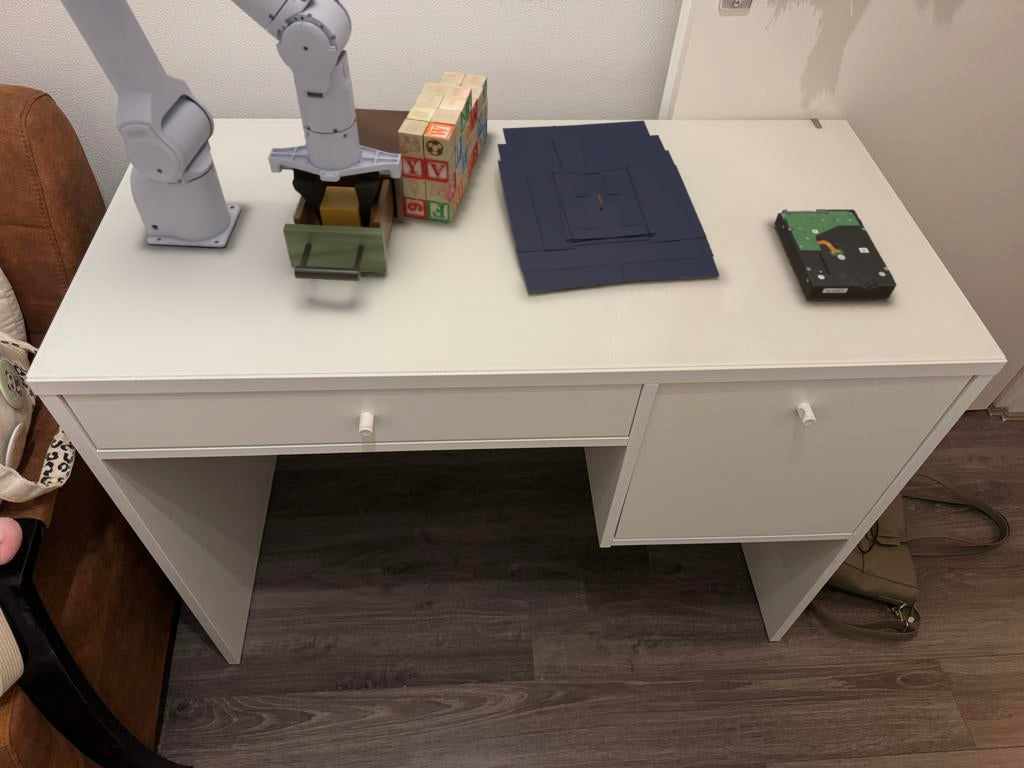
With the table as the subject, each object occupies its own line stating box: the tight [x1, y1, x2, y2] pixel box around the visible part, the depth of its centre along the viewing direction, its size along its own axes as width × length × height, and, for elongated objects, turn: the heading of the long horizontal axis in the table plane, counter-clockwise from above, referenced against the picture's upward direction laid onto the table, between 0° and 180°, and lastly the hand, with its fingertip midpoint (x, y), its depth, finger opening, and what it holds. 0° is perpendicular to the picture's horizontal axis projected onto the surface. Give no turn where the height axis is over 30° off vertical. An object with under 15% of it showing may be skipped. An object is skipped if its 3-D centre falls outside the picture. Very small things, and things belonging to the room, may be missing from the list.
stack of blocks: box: [398, 70, 489, 223], centre depth 99 cm, size 21×6×12 cm, turn 168°
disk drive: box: [774, 208, 897, 301], centre depth 93 cm, size 10×3×15 cm
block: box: [320, 186, 362, 227], centre depth 90 cm, size 4×4×5 cm
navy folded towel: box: [497, 120, 721, 294], centre depth 98 cm, size 24×30×4 cm
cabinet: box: [353, 108, 410, 224], centre depth 98 cm, size 14×12×7 cm
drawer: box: [282, 175, 396, 282], centre depth 89 cm, size 19×11×6 cm, turn 179°
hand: (345, 222), depth 91 cm, fingers closed on block, 4 cm apart
